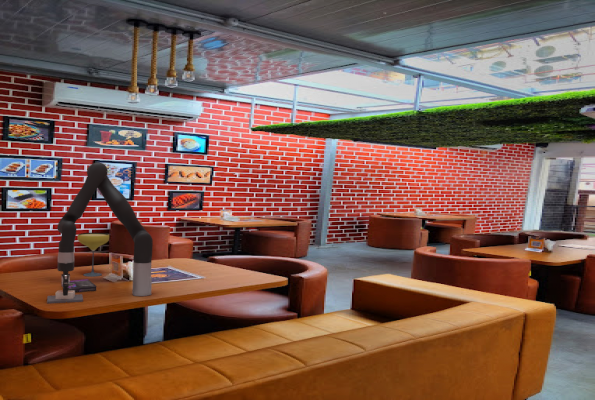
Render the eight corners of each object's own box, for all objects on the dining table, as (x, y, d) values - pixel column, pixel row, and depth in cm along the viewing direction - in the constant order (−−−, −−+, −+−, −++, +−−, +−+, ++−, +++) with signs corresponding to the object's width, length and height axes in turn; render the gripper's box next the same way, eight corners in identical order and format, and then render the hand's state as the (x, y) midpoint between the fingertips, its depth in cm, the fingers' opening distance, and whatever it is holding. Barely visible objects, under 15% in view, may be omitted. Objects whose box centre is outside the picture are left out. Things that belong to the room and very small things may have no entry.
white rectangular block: (55, 299, 260) (55, 292, 260) (57, 296, 265) (57, 290, 265) (73, 298, 262) (73, 292, 262) (74, 296, 267) (74, 290, 267)
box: (61, 287, 294) (68, 294, 277) (61, 281, 293) (68, 287, 277) (87, 285, 301) (96, 291, 285) (87, 278, 301) (96, 284, 285)
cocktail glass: (102, 271, 339) (103, 232, 338) (112, 276, 325) (113, 235, 324) (72, 273, 328) (73, 233, 327) (82, 278, 314) (83, 236, 313)
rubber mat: (82, 296, 272) (82, 294, 272) (83, 301, 261) (83, 299, 261) (47, 297, 266) (47, 295, 266) (47, 303, 255) (47, 301, 255)
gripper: (57, 258, 268) (57, 290, 268) (57, 263, 255) (56, 297, 255) (73, 258, 271) (73, 290, 271) (74, 263, 258) (73, 296, 258)
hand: (65, 293), depth 263 cm, fingers open, 8 cm apart
